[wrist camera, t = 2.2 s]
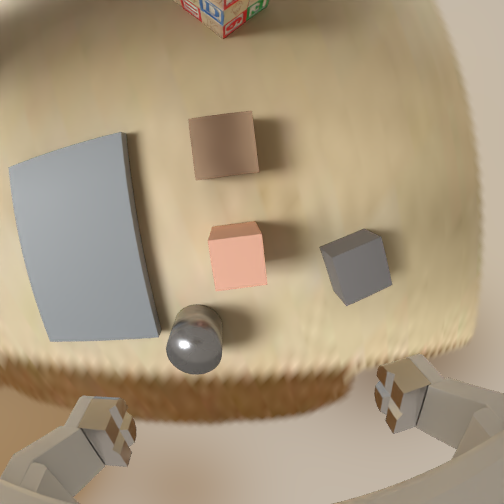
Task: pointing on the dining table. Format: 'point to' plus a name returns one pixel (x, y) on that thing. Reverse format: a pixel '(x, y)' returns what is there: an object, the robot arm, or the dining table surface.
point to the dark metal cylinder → (195, 340)
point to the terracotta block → (237, 256)
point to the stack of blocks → (223, 12)
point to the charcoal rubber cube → (357, 266)
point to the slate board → (84, 242)
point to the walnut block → (223, 145)
